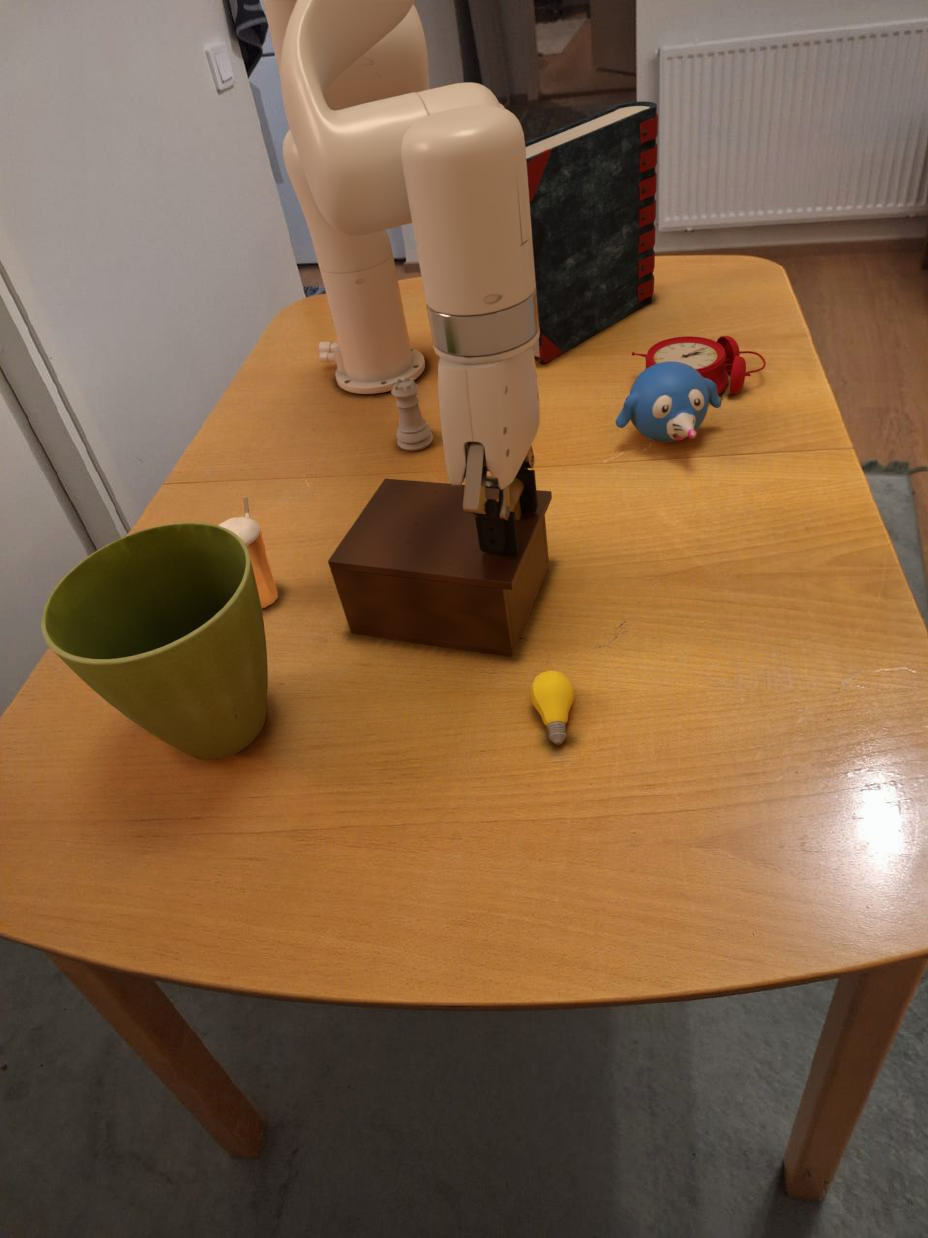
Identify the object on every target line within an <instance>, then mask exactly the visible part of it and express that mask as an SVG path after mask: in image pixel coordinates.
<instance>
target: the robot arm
mask: <svg viewBox="0 0 928 1238" xmlns="http://www.w3.org/2000/svg"><path fill="white" fill-rule="evenodd" d="M262 2H263V6H264V11H265V16H266V20H267V24H268V25H267V26H268V30H269V34H270V39H271V43H272V48H273V54H274V57H275V62H276V66H277V70H278V74H279V78H280V89H281V90H280V91H281V98H282V104H283V108H284V109H283V110H284V112H285V113H284V114H285V118H286V120H287V124H288V128H289V129H288V131H287V132H286V134H285V135H284V137H283V138H284V139H283V141H282V158H283V162H284V167H285V169H286V172H287V175H288V178H289V181H290V183H291V185H292V189H293V191H294V193H295V195H296V197H297V201H298V203H299V206H300V208H301V211H302V213H303V216H304V219H305V222H306V225H307V229H308V231H309V235H310V239H311V242H312V246H313V249H314V253H315V256H316V261H317V265H318V268H319V271H320V276H321V279H322V283H323V287H324V291H325V295H326V299H327V302H328V307H329V311H330V314H331V318H332V323H333V326H334V331H335V334H336V339H337V342H334V341H320V342H319V344H318V353H319V354H318V359H319V361H320V362H321V363H334V364H335V365H336V366H337V367H336V370H335V372H334V373H335V376H334V377H335V380H336V383H337V386H338V387H339V388H340V389H342V390H344V391H346V392H347V393H348V392H349V393H352V394H357V395H375V394H383V393H387V392H391V391H392V389H393V382H394V381H396V383H397V379H399V378H401V381H405V379H404V377H409V381H410V378H413V379H414V381H415V380H418V378H419V377H420V376H421V375H422V374H423V372H424V370H425V369H426V362H425V356H424V354H423V353H422V352H421V351H419V349H416V348H415V347H412V346H411V342H410V336H409V331H408V326H407V320H406V316H405V310H404V304H403V301H402V300H403V299H402V295H401V289H400V285H399V283H400V282H399V278H398V273H397V269H396V268H397V267H396V264H395V258H394V253H393V248H392V242H391V239H390V237H389V234H388V232H387V230H391V229H394V228H398V227H402V226H407V225H409V224H412V229H413V235H414V242H415V246H416V252H417V260H418V264H419V270H420V275H421V277H420V278H421V281H422V287H423V294H424V299H425V307H426V312H427V318H428V325H429V330H430V336H431V341H432V347H433V351H434V353H435V354H436V356H438V357H439V360H438V362H437V388H438V391H437V392H438V408H439V418H440V420H439V421H440V429H441V437H442V445H443V454H444V461H445V467H446V475H447V478H448V481H449V483H450V484H452V485H453V486H457V485H459V486H461V485H462V484H463V483H464V485H465V488H464V499H463V511H464V512H467V513H472V516H473V517H475V521H476V527H477V534H478V540H479V546H480V550H481V551H482V552H485V553H495V554H504V555H516V554H517V552H518V550H519V545H518V536H517V528H516V519H515V512H511V511H510V484H511V483H512V482H513V480H514V478H517V479H519V480H521V481H522V483H523V485H524V489H523V492H522V494H521V496H520V498H519V500H520V509H521V512H528V513H534V512H536V510H537V508H538V501H537V491H536V490H537V481H536V471H535V469H533V468H534V465H535V453H534V449H533V443H534V440H535V439H536V436H537V434H538V431H539V426H540V418H541V417H540V416H541V415H540V413H541V412H540V411H541V410H540V409H541V408H540V393H539V383H538V375H537V374H538V373H537V366H536V360H535V356H534V351H533V346H534V345H535V343H536V342H537V340H538V339H539V336H540V329H539V318H538V305H537V292H536V282H535V269H534V256H533V243H532V229H531V215H530V202H529V189H528V175H527V162H526V149H525V133H524V130H523V126H522V124H521V122H520V120H519V119H518V117H517V116H516V115H515V114H514V112H511V111H510V110H509V109H507V108H505V106H504V104H502V103H500V102H499V100H498V99H497V97H496V95H495V94H494V93H493V92H492V90H491V89H490V88H488V87H486V86H485V85H483V84H481V83H479V82H471V81H470V82H469V81H468V82H458V83H452V84H448V85H442V86H438V87H434V88H431V85H430V82H431V81H430V67H429V65H430V64H429V56H428V48H427V41H426V35H425V32H424V27H423V23H422V21H421V18H420V15H419V12H418V10H417V8H416V6H415V2H416V0H262ZM489 472H490V475H488V473H489ZM485 488H494V489H498V493H499V502H498V501H496V500H494V499H488V498H486V496H485Z"/></svg>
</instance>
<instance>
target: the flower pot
mask: <svg viewBox="0 0 928 1238" xmlns="http://www.w3.org/2000/svg"><path fill="white" fill-rule="evenodd" d="M218 525H219V524H218ZM218 525H217V524H213V523H208V522H199V521H182V522H172V523H165V524H160V525H156V526H151V527H148V528H144V529H141V530H138V531H134V532H132V533H130V534H126V535H125V536H122V537H120V538H118V539H115V540H114V541H111V542H110V543H107V544H106V545H104V546H102V547H100V548H99V549H97V550H95V551H94V552H92V553H91V554H89V555H88V556H86V557H85V558H84V559H82V560H81V561H79V562H78V563H77V564H76V565H75V566H73V568H71V569H70V570H68V571H67V573H66V574H65V575H64V576H63V577H62V578H61V579H60V580H59V582H58V583H57V584H56V585H55V586H54V588H53V590H52V591H51V592H50V594H49V596H48V598H47V600H46V602H45V605H44V608H43V612H42V616H41V621H40V622H41V624H40V626H41V627H40V628H41V633H42V637H43V640H44V641H45V643H46V645H47V646H48V647H49V648H50V649H51V650H52V652H54V653H55V655H56V656H57V657H58V658H60V660H61V661H62V662H63V663H64V664H66V666H67V667H69V669H71V671H72V672H74V674H75V675H77V677H78V678H79V679H81V680H82V681H83V682H84V683H85V684H86V685H87V686H88V687H89V688H90V689H92V690H93V691H94V692H95V693H96V694H97V695H99V696H100V697H101V698H102V699H103V700H105V702H107V703H108V705H110V706H112V707H113V708H114V709H116V710H117V711H118V712H119V713H121V714H122V715H123V716H125V717H126V718H127V719H129V720H130V721H131V722H133V723H135V724H136V725H137V726H139V727H141V729H143V730H145V731H146V732H148V733H149V734H150V735H152V736H154V737H156V738H157V739H159V740H160V741H162V742H164V743H166V744H167V745H169V746H171V747H173V748H175V749H177V750H178V751H180V752H182V753H184V754H186V755H188V756H190V757H192V758H194V759H197V760H200V761H201V760H202V761H217V760H223V759H226V758H229V757H232V756H234V755H236V754H238V753H239V752H241V751H243V750H244V749H246V748H248V746H250V745H251V744H252V743H253V742H254V741H255V740H256V739H257V738H258V736H259V735H260V734H261V732H262V730H263V728H264V725H265V723H266V718H267V709H268V686H269V685H268V684H269V679H268V678H269V675H268V674H269V673H268V670H269V669H268V649H267V639H266V638H267V637H266V629H265V622H264V621H265V620H264V615H263V608H261V603H260V598H259V593H258V589H257V584H256V579H255V575H254V571H253V567H252V563H251V559H250V555H249V551H248V549H247V546H246V545H245V543H244V542H243V540H242V539H241V538H240V537H239V536H237V535H236V534H235V533H234V532H232V531H230V530H228V529H226V528H223V527H221V526H218Z"/></svg>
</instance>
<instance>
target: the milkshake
mask: <svg viewBox="0 0 928 1238" xmlns="http://www.w3.org/2000/svg"><path fill="white" fill-rule="evenodd" d="M242 500H243V508H244V516H233V517H230V518H228V519H226V520H224V521H222V522H220V523H219V524H218V526H221V527H223V528H226V529H228V530H230V531H232V532H234V533H235V534H236V535H237V536H239V537H240V538H241V539H242V540H243V542H244V543H245V545H246V546H247V549H248V551H249V555H250V559H251V563H252V567H253V571H254V575H255V579H256V584H257V589H258V593H259V598H260V603H261V608H262V609H265V608H267V607H269V606H271V605H273V604H274V603H275V602H276V600H277V599H278V597H279V595H278V594H279V593H278V589H277V585H276V582H275V578H274V576H273V572H272V568H271V565H270V561H269V557H268V555H267V549H266V545H265V542H264V538H263V534H262V530H261V527H260V526H261V525H260V524H259V522H258V521H257V520H255V519H253V518H251V517H250V508H249V499H248V497H247V496H243V499H242Z"/></svg>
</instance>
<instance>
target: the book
mask: <svg viewBox="0 0 928 1238" xmlns="http://www.w3.org/2000/svg"><path fill="white" fill-rule="evenodd" d="M657 110H658V104H657V103H655V102H653V101H645V100H644V101H643V100H642V101H641V100H640V101H630V102H623V103H619V104H616V105H614V106H612V107H610V108H608V109H605V110H603V111H600V112H598V113H595V114H593V115H590V116H588V117H585V118H583V119H579V120H578V121H575V122H573V123H570V124H568V125H565V126H562V127H561V128H558V129H555V130H553V131H550V132H548V133H546V134H543V135H541V136H538V137H535V138H533V139H531V140H527V141H526V142H525V149H526V162H527V175H528V189H529V202H530V215H531V229H532V243H533V256H534V269H535V282H536V292H537V305H538V318H539V329H540V336H539V339H538V340H537V342H536V343H535V345H534V346H533V351H534V357H537V358H539V360H540V362H539V363H540V364H541V365H545V364H546V363H549V362H551V361H552V360H554V359H556V358H557V357H559V356H561V355H563V354H564V353H565V352H567V351H569V350H571V349H572V348H574V347H576V346H577V345H579V344H581V343H583V342H585V341H587V340H588V339H589V338H592V337H593V336H595V335H597V334H598V333H600V332H602V331H603V330H605V329H607V328H608V327H611V326H612V325H614V324H616V323H617V322H619V321H621V320H622V319H624V318H626V317H628V316H629V315H631V314H633V313H635V312H636V311H638V310H640V309H641V308H643V307H645V306H648V305H650V304H652V302H653V296H654V293H655V274H654V271H655V263H656V252H655V249H654V247H655V245H656V226H655V222H656V218H657V200H656V198H655V197H656V193H657V185H658V184H657V181H658V179H657V178H658V176H657V175H658V174H657V172H656V167H657V165H658V144H657V137H658V135H659V114H658V111H657Z"/></svg>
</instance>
